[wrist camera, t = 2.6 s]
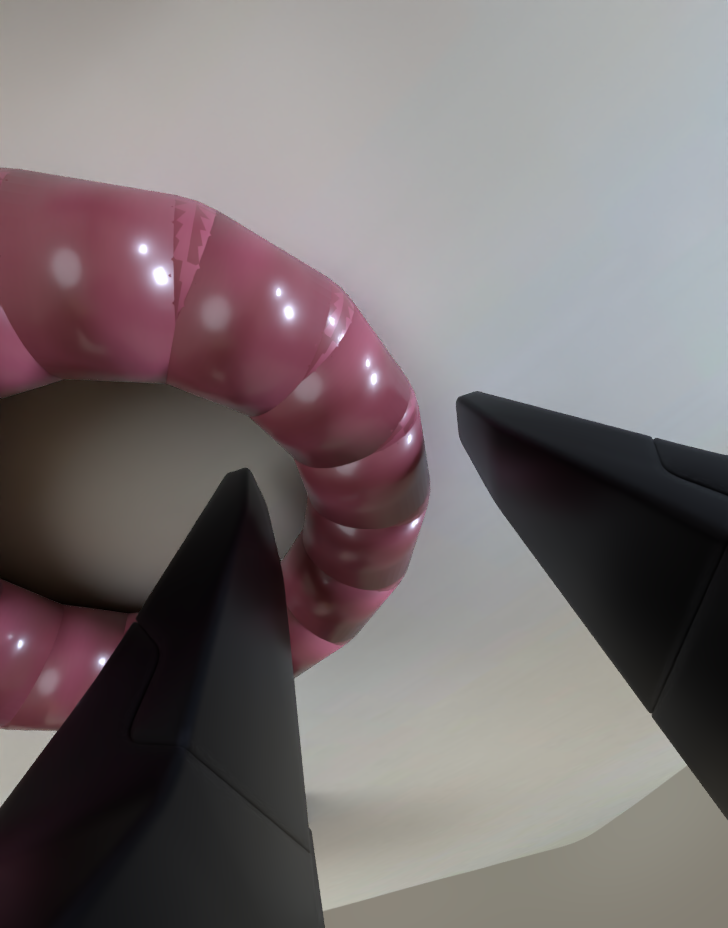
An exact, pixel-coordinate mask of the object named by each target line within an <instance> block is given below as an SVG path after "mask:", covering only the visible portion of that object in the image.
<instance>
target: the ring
mask: <svg viewBox="0 0 728 928" xmlns="http://www.w3.org/2000/svg"><path fill="white" fill-rule="evenodd" d="M64 379H74V380H96V381H117V382H138V383H160V384H168V385H170V386H173V387H176V388H178V389H181V390H183V391H186V392H188V393H191V394H194V395H196V396H199V397H201V398H204V399H207V400H209V401H212V402H214V403H217V404H219V405H222V406H225V407H227V408H230V409H232V410H235V411H237V412H240V413H243V414H245V415H248V416H249V417H250V418H251V419H252V420H253V421H254V422H255V423H256V424H258V425H259V426H260V427H261V428H262V429H263V430H264V431H265V432H266V433H267V434H268V435H270V436H271V437H272V438H273V439H274V440H275V441H276V442H277V443H278V444H279V445H280V446H282V447H283V448H284V449H285V450H286V451H287V452H288V453H289V454H290V455H291V456H292V457H293V458H294V461H295V463H296V466H297V468H298V471H299V473H300V476H301V478H302V481H303V484H304V486H305V489H306V491H307V494H308V497H307V505H306V512H305V519H304V527H303V530H302V531H301V533H300V534H299V536H298V537H297V539H296V540H295V542H294V543H293V545H292V546H291V548H290V549H289V551H288V552H287V554H286V555H285V557H284V558H283V560H282V561H281V562H280V563H281V567H282V572H283V578H284V585H285V594H286V604H287V614H288V624H289V634H290V645H291V655H292V665H293V675H294V678H296V677H297V676H299V675H300V674H302V673H303V672H305V671H306V670H308V669H309V668H311V667H312V666H314V665H315V664H317V663H318V662H320V661H321V660H323V659H324V658H326V657H327V656H329V655H330V654H332V653H333V652H335V651H336V650H338V649H339V648H341V647H342V646H344V645H345V644H347V643H348V642H349V641H350V640H351V639H353V638H354V637H355V636H356V635H357V634H358V633H359V631H360V630H361V629H362V628H363V627H364V625H365V624H366V623H367V622H368V621H369V619H370V618H371V617H372V616H373V615H374V613H375V612H376V611H377V610H378V608H379V607H380V606H381V605H382V604H383V602H384V601H385V600H386V599H387V598H388V596H389V595H390V594H391V593H392V592H393V590H394V589H395V588H396V587H397V586H398V584H399V583H400V582H401V580H402V578H403V577H404V575H405V573H406V571H407V568H408V565H409V562H410V559H411V556H412V553H413V550H414V547H415V544H416V540H417V537H418V534H419V531H420V528H421V525H422V522H423V519H424V515H425V512H426V509H427V506H428V502H429V496H430V477H429V470H428V464H427V457H426V451H425V444H424V438H423V432H422V425H421V419H420V412H419V406H418V402H417V399H416V395H415V392H414V390H413V388H412V386H411V385H410V383H409V381H408V379H407V377H406V376H405V374H404V373H403V372H402V370H401V369H400V367H399V366H398V364H397V363H396V362H395V360H394V359H393V357H392V356H391V355H390V353H389V352H388V350H387V349H386V348H385V346H384V345H383V343H382V342H381V341H380V339H379V338H378V336H377V335H376V334H375V332H374V331H373V329H372V328H371V326H370V325H369V324H368V322H367V321H366V319H365V318H364V317H363V315H362V314H361V312H360V311H359V310H358V308H357V307H356V305H355V304H354V303H353V301H352V300H351V298H350V297H349V296H348V295H347V294H346V293H345V292H344V290H343V289H342V288H341V287H340V286H338V285H337V284H336V283H334V282H333V281H332V280H330V279H329V278H328V277H326V276H325V275H323V274H322V273H320V272H318V271H317V270H315V269H313V268H312V267H310V266H308V265H307V264H305V263H303V262H302V261H300V260H298V259H297V258H295V257H293V256H292V255H290V254H288V253H287V252H285V251H284V250H282V249H280V248H279V247H277V246H275V245H274V244H272V243H270V242H269V241H267V240H265V239H264V238H262V237H260V236H259V235H257V234H255V233H254V232H252V231H250V230H249V229H247V228H245V227H244V226H242V225H241V224H239V223H237V222H236V221H234V220H232V219H231V218H229V217H227V216H226V215H224V214H222V213H221V212H219V211H217V210H215V209H213V208H211V207H209V206H207V205H205V204H202V203H200V202H198V201H196V200H192V199H188V198H184V197H181V196H178V195H172V194H166V193H160V192H154V191H148V190H143V189H137V188H131V187H125V186H119V185H113V184H107V183H101V182H95V181H89V180H83V179H77V178H71V177H65V176H59V175H53V174H47V173H41V172H35V171H29V170H23V169H12V168H0V399H2V398H5V397H9V396H12V395H15V394H18V393H22V392H25V391H28V390H32V389H35V388H38V387H41V386H45V385H48V384H51V383H54V382H58V381H61V380H64ZM138 613H139V612H137V613H122V612H115V611H108V610H101V609H94V608H87V607H79V606H72V605H65V604H60V603H58V602H55V601H53V600H51V599H48V598H46V597H43V596H41V595H39V594H36V593H34V592H31V591H29V590H27V589H24V588H22V587H19V586H17V585H14V584H12V583H10V582H7V581H5V580H2V579H0V729H6V730H42V731H58V730H59V728H60V727H61V726H62V724H63V723H64V722H65V720H66V719H67V718H68V716H69V715H70V714H71V712H72V711H73V709H74V708H75V707H76V705H77V704H78V702H79V701H80V700H81V698H82V697H83V695H84V694H85V693H86V691H87V690H88V689H89V687H90V686H91V684H92V683H93V682H94V680H95V679H96V677H97V676H98V674H99V673H100V671H101V670H102V668H103V667H104V665H105V664H106V662H107V661H108V659H109V658H110V656H111V655H112V653H113V652H114V650H115V649H116V647H117V646H118V644H119V643H120V641H121V640H122V638H123V636H124V635H125V633H126V632H127V630H128V629H129V627H130V625H131V624H132V623H133V622H137V621H136V616H137V615H138ZM137 623H138V622H137Z"/></svg>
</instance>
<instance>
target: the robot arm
mask: <svg viewBox="0 0 728 928" xmlns="http://www.w3.org/2000/svg"><path fill="white" fill-rule="evenodd" d="M456 411H457V422H458V432H459V437H460V440H461V443H462V445H463V446H464V448H465V450H466V452H467V454H468V455H469V457H470V459H471V461H472V463H473V464H474V466H475V468H476V470H477V472H478V473H479V475H480V477H481V479H482V481H483V482H484V484H485V486H486V488H487V489H488V491H489V493H490V495H491V496H492V498H493V500H494V502H495V503H496V504H497V506H498V507H499V509H500V510H501V512H502V513H503V514H504V516H505V517H506V519H507V520H508V521H509V523H510V524H511V525H512V527H513V528H514V529H515V531H516V532H517V533H518V535H519V536H520V538H521V539H522V540H523V542H524V543H525V544H526V546H527V547H528V548H529V550H530V551H531V553H532V554H533V555H534V557H535V558H536V559H537V561H538V562H539V563H540V565H541V566H542V567H543V569H544V570H545V572H546V573H547V574H548V576H549V577H550V578H551V580H552V581H553V582H554V584H555V585H556V587H557V588H558V589H559V591H560V592H561V593H562V595H563V596H564V597H565V599H566V600H567V602H568V603H569V604H570V606H571V607H572V608H573V610H574V611H575V612H576V614H577V615H578V616H579V618H580V619H581V621H582V622H583V623H584V625H585V626H586V627H587V629H588V630H589V631H590V633H591V634H592V636H593V637H594V638H595V640H596V641H597V642H598V644H599V645H600V646H601V648H602V649H603V651H604V652H605V653H606V655H607V656H608V657H609V659H610V660H611V661H612V663H613V664H614V665H615V667H616V668H617V670H618V671H619V672H620V674H621V675H622V676H623V678H624V679H625V680H626V682H627V683H628V685H629V686H630V687H631V689H632V690H633V691H634V693H635V694H636V695H637V697H638V698H639V700H640V701H641V702H642V704H643V705H644V706H645V708H646V709H647V710H648V712H649V713H652V718H653V719H654V720H655V722H656V723H657V724H658V726H659V727H660V729H661V730H662V731H663V733H664V734H665V735H666V737H667V738H668V739H669V741H670V742H671V744H672V745H673V746H674V748H675V749H676V750H677V752H678V753H679V754H680V756H681V757H682V759H683V760H684V761H685V763H686V764H687V765H688V767H689V768H690V769H691V771H692V772H693V773H694V775H695V776H696V778H697V779H698V780H699V782H700V783H701V784H702V786H703V787H704V788H705V790H706V791H707V792H708V794H709V795H710V797H711V798H712V799H713V801H714V802H715V803H716V805H717V806H718V808H719V809H720V810H721V812H722V813H723V814H724V816H725V817H726V818H727V820H728V455H723V454H718V453H714V452H710V451H706V450H702V449H698V448H693V447H689V446H685V445H681V444H677V443H674V442H670V441H666V440H662V439H659V438H655V439H654V440H653V439H652V437H650V436H647V435H643V434H639V433H635V432H631V431H628V430H624V429H620V428H616V427H612V426H608V425H605V424H601V423H597V422H593V421H589V420H586V419H582V418H578V417H574V416H570V415H566V414H563V413H559V412H555V411H551V410H547V409H543V408H540V407H536V406H532V405H528V404H524V403H521V402H517V401H513V400H509V399H505V398H501V397H498V396H494V395H490V394H486V393H482V392H478V391H476V392H472V393H469V394H466V395H463V396H460V397H458V399H457V401H456ZM136 621H137V622H138V623H137V622H133V623H132V624H131V625H130V627H129V629H128V630H127V632H126V633H125V635H124V636H123V638H122V640H121V641H120V643H119V644H118V646H117V647H116V649H115V650H114V652H113V653H112V655H111V656H110V658H109V659H108V661H107V662H106V664H105V665H104V667H103V668H102V670H101V671H100V673H99V674H98V676H97V677H96V679H95V680H94V682H93V683H92V684H91V686H90V687H89V689H88V690H87V691H86V693H85V694H84V695H83V697H82V698H81V700H80V701H79V702H78V704H77V705H76V707H75V708H74V709H73V711H72V712H71V714H70V715H69V716H68V718H67V719H66V720H65V722H64V723H63V724H62V726H61V727H60V728H59V730H58V731H57V732H56V734H55V735H54V736H53V738H52V739H51V740H50V742H49V743H48V744H47V746H46V747H45V748H44V750H43V751H42V753H41V754H40V755H39V757H38V758H37V759H36V761H35V762H34V763H33V765H32V766H31V767H30V769H29V770H28V771H27V773H26V774H25V775H24V777H23V778H22V779H21V781H20V782H19V783H18V785H17V786H16V787H15V789H14V790H13V791H12V793H11V794H10V795H9V797H8V798H7V799H6V801H5V802H4V803H3V805H2V806H1V807H0V928H325V925H324V918H323V910H322V903H321V896H320V889H319V882H318V875H317V867H316V860H315V853H314V846H313V839H312V832H311V829H310V828H309V827H308V817H307V806H306V796H305V786H304V776H303V766H302V756H301V746H300V736H299V726H298V715H297V705H296V695H295V685H294V675H293V665H292V655H291V645H290V634H289V624H288V614H287V604H286V594H285V585H284V578H283V572H282V567H281V563H280V559H279V554H278V550H277V546H276V542H275V537H274V533H273V529H272V525H271V521H270V516H269V512H268V508H267V505H266V502H265V500H264V497H263V495H262V493H261V491H260V489H259V487H258V485H257V483H256V481H255V479H254V476H253V474H252V472H251V471H250V470H249V469H248V468H242V469H239V470H236V471H233V472H230V473H228V474H226V475H225V477H224V478H223V480H222V482H221V483H220V485H219V486H218V488H217V489H216V491H215V493H214V494H213V496H212V497H211V499H210V501H209V502H208V504H207V505H206V507H205V508H204V510H203V512H202V513H201V515H200V516H199V518H198V520H197V521H196V523H195V524H194V526H193V527H192V529H191V531H190V532H189V534H188V535H187V537H186V539H185V540H184V542H183V543H182V545H181V547H180V548H179V550H178V551H177V553H176V554H175V556H174V558H173V559H172V561H171V562H170V564H169V566H168V567H167V569H166V570H165V572H164V573H163V575H162V577H161V578H160V580H159V581H158V583H157V585H156V586H155V588H154V589H153V591H152V592H151V594H150V596H149V597H148V599H147V600H146V602H145V604H144V605H143V607H142V608H141V610H140V611H139V613H138V615H137V616H136Z"/></svg>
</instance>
